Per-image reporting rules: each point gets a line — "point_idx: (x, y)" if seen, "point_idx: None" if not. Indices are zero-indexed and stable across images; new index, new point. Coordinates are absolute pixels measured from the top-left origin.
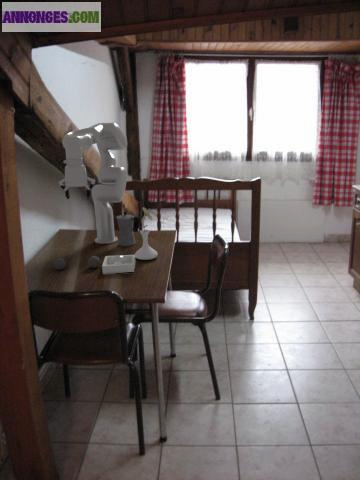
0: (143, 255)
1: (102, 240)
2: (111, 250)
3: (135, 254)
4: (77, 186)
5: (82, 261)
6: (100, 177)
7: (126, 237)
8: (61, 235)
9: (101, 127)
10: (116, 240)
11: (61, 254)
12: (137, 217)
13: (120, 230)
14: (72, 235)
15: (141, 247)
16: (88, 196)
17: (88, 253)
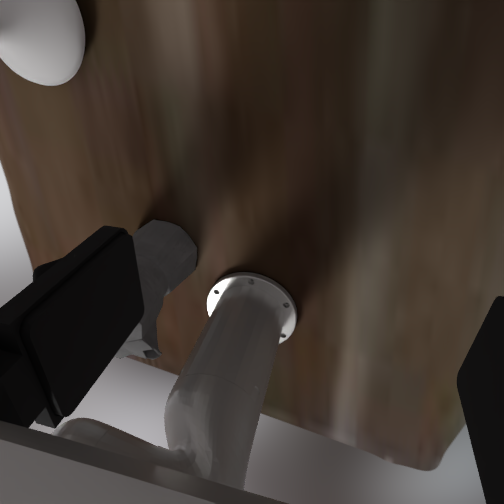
0: None
1: (261, 292)
2: (219, 183)
3: (68, 8)
4: (150, 479)
5: (356, 31)
6: None
7: (145, 242)
8: (432, 424)
9: None
10: (210, 290)
11: (465, 188)
12: None
13: (159, 279)
14: (388, 409)
15: (20, 24)
16: (90, 238)
17: (323, 167)
